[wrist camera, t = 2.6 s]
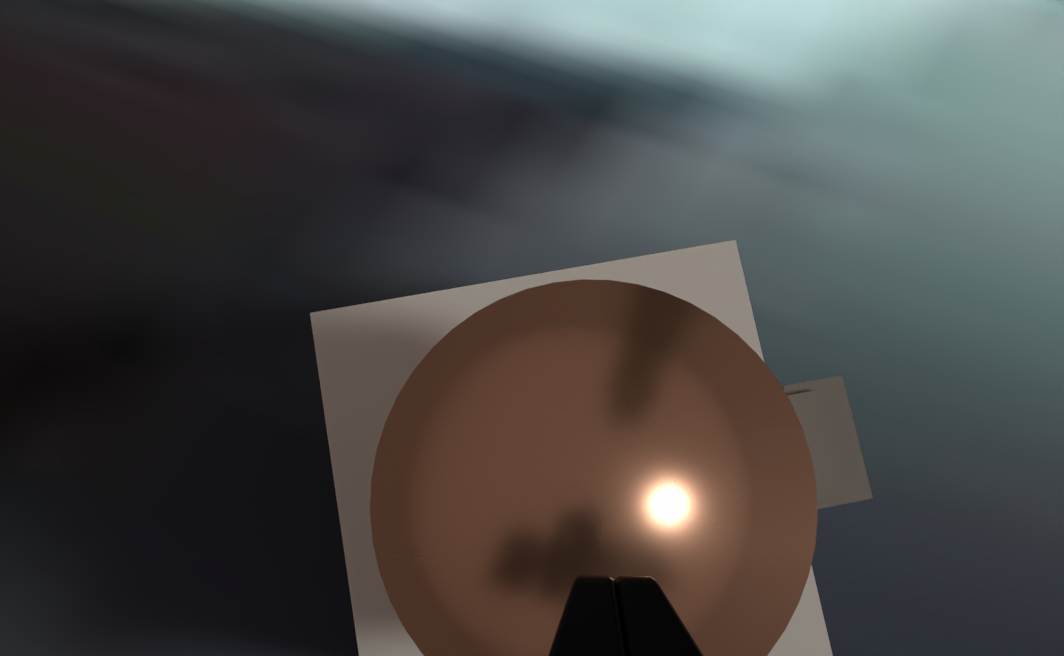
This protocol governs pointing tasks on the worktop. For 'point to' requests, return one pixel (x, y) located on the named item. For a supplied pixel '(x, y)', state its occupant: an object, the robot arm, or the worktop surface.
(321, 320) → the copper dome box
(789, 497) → the plunger
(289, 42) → the worktop surface
